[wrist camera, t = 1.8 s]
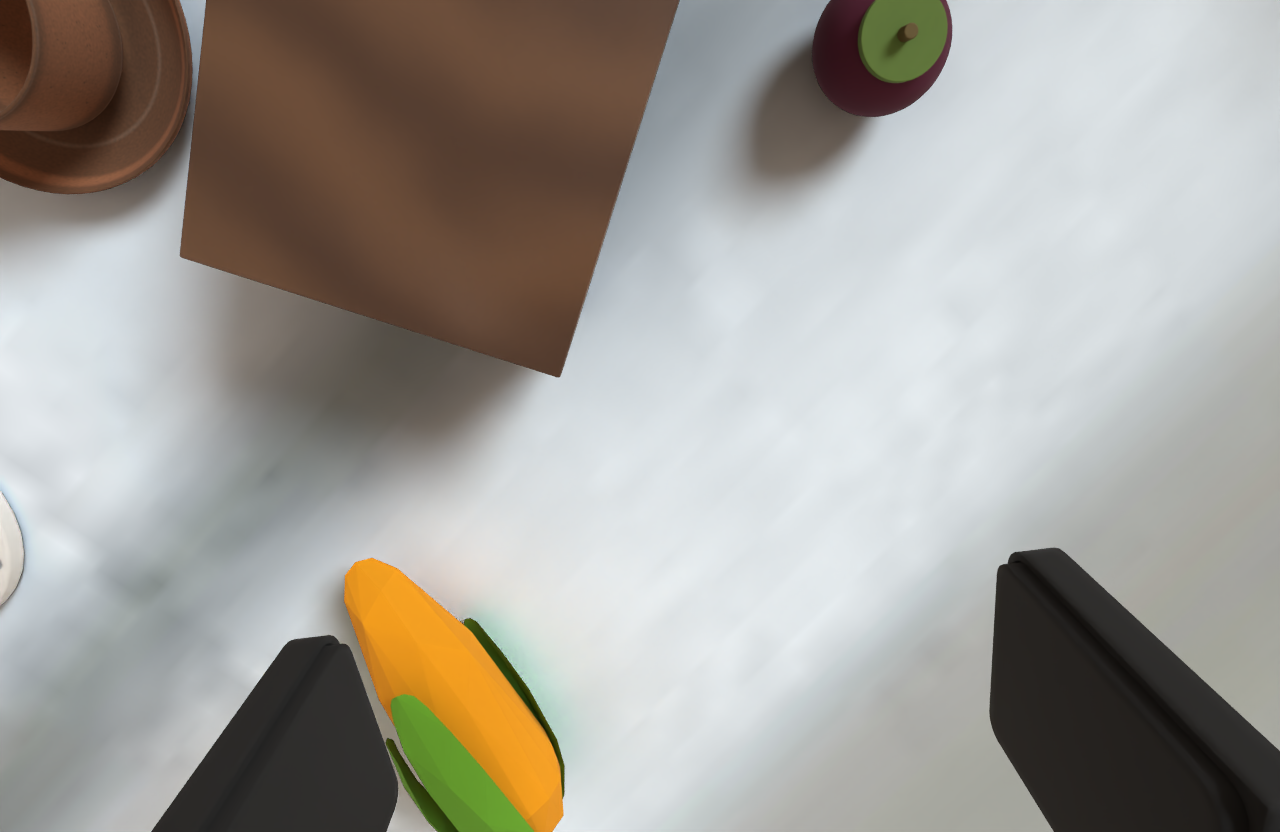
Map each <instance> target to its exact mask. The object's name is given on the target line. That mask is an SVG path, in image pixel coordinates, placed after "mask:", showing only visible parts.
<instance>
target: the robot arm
mask: <svg viewBox="0 0 1280 832" xmlns="http://www.w3.org/2000/svg"><path fill="white" fill-rule="evenodd" d="M23 560H24V548H23V542H22V535H21V531H20V528H19V526H18V523H17V520H16V518H15V515H14V512H13V510H12V509H11V507H10V505H9V504H8V502H7V500H6V499H5V497H4V495H3V494H2V492H1V491H0V605H1V604H3V603H4V602H5V601H6V600H7V599H8V598H9V596H10V595H11V593H12V592H13V591H14V589H15V588H16V587H17V584H18V581H19V579H20V576H21V573H22V570H23ZM989 711H990V721H991V725H992V728H993V731H994V734H995V736H996V738H997V740H998V742H999V744H1000V745H1001V747H1002V749H1003V750H1004V752H1005V753H1006V755H1007V757H1008V758H1009V760H1010V761H1011V763H1012V765H1013V766H1014V768H1015V770H1016V771H1017V773H1018V774H1019V776H1020V778H1021V779H1022V781H1023V782H1024V784H1025V786H1026V787H1027V789H1028V791H1029V792H1030V794H1031V795H1032V797H1033V799H1034V800H1035V802H1036V803H1037V805H1038V807H1039V808H1040V810H1041V812H1042V813H1043V815H1044V816H1045V818H1046V820H1047V821H1048V823H1049V824H1050V826H1051V828H1052V829H1053V831H1054V832H1280V751H1279V750H1278V749H1277V748H1276V747H1275V746H1274V745H1273V744H1271V743H1270V742H1269V741H1268V740H1267V739H1266V738H1265V737H1264V736H1263V735H1262V734H1261V733H1260V732H1258V731H1257V730H1256V729H1255V728H1254V727H1253V726H1252V725H1251V724H1250V723H1249V722H1248V721H1247V720H1245V719H1244V718H1243V717H1242V716H1241V715H1240V714H1239V713H1238V712H1237V711H1236V710H1235V709H1234V708H1233V707H1231V706H1230V705H1229V704H1228V703H1227V702H1226V701H1225V700H1224V699H1223V698H1222V697H1221V696H1220V695H1218V694H1217V693H1216V692H1215V691H1214V690H1213V689H1212V688H1211V687H1210V686H1209V685H1208V684H1207V683H1205V682H1204V681H1203V680H1202V679H1201V678H1200V677H1199V676H1198V675H1197V674H1196V673H1195V672H1194V671H1193V670H1191V669H1190V668H1189V667H1188V666H1187V665H1186V664H1185V663H1184V662H1183V661H1182V660H1181V659H1180V658H1178V657H1177V656H1176V655H1175V654H1174V653H1173V652H1172V651H1171V650H1170V649H1169V648H1168V647H1166V646H1165V645H1164V644H1163V643H1162V642H1161V641H1160V640H1159V639H1158V638H1157V637H1156V636H1155V635H1154V634H1152V633H1151V632H1150V631H1149V630H1148V629H1147V628H1146V627H1145V626H1144V625H1143V624H1142V623H1141V622H1139V621H1138V620H1137V619H1136V618H1135V617H1134V616H1133V615H1132V614H1131V613H1130V612H1129V611H1128V610H1126V609H1125V608H1124V607H1123V606H1122V605H1121V604H1120V603H1119V602H1118V601H1117V600H1116V599H1115V598H1114V597H1112V596H1111V595H1110V594H1109V593H1108V592H1107V591H1106V590H1105V589H1104V588H1103V587H1102V586H1101V585H1099V584H1098V583H1097V582H1096V581H1095V580H1094V579H1093V578H1092V577H1091V576H1090V575H1089V574H1088V573H1086V572H1085V571H1084V570H1083V569H1082V568H1081V567H1080V566H1079V565H1078V564H1077V563H1076V562H1075V561H1074V560H1072V559H1071V558H1070V557H1069V556H1068V555H1067V554H1066V553H1065V552H1063V551H1062V550H1060V549H1059V548H1046V549H1038V550H1030V551H1022V552H1015V553H1013V554H1011V556H1010V558H1009V560H1008V564H1003V565H1001V566H999V568H998V571H997V582H996V601H995V619H994V637H993V655H992V673H991V692H990V710H989ZM397 797H398V781H397V777H396V774H395V771H394V769H393V766H392V763H391V760H390V757H389V755H388V752H387V749H386V746H385V743H384V741H383V738H382V735H381V732H380V729H379V727H378V724H377V721H376V718H375V716H374V713H373V710H372V707H371V704H370V702H369V699H368V696H367V693H366V690H365V688H364V685H363V682H362V679H361V676H360V674H359V671H358V668H357V665H356V662H355V660H354V657H353V654H352V651H351V649H350V647H349V646H348V645H346V644H340V643H339V641H338V640H337V639H336V638H335V637H334V636H331V635H327V636H318V637H310V638H302V639H294V640H291V641H289V642H288V643H287V644H286V645H285V646H284V647H283V648H282V650H281V651H280V653H279V654H278V655H277V657H276V658H275V660H274V661H273V662H272V664H271V665H270V667H269V668H268V669H267V671H266V672H265V674H264V675H263V676H262V678H261V679H260V681H259V682H258V683H257V685H256V686H255V688H254V689H253V690H252V692H251V693H250V695H249V696H248V697H247V699H246V700H245V702H244V703H243V704H242V706H241V707H240V709H239V710H238V711H237V713H236V714H235V716H234V717H233V718H232V720H231V721H230V722H229V724H228V725H227V727H226V728H225V729H224V731H223V732H222V734H221V735H220V736H219V738H218V739H217V741H216V742H215V743H214V745H213V746H212V748H211V749H210V750H209V752H208V753H207V755H206V756H205V757H204V759H203V760H202V762H201V763H200V764H199V766H198V767H197V769H196V770H195V771H194V773H193V774H192V776H191V777H190V778H189V780H188V781H187V783H186V784H185V785H184V787H183V788H182V789H181V791H180V792H179V794H178V795H177V796H176V798H175V799H174V801H173V802H172V803H171V805H170V806H169V808H168V809H167V810H166V812H165V813H164V815H163V816H162V817H161V819H160V820H159V822H158V823H157V824H156V826H155V827H154V829H153V830H152V831H151V832H386V831H387V828H388V826H389V823H390V820H391V818H392V815H393V812H394V809H395V806H396V803H397Z"/></svg>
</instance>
